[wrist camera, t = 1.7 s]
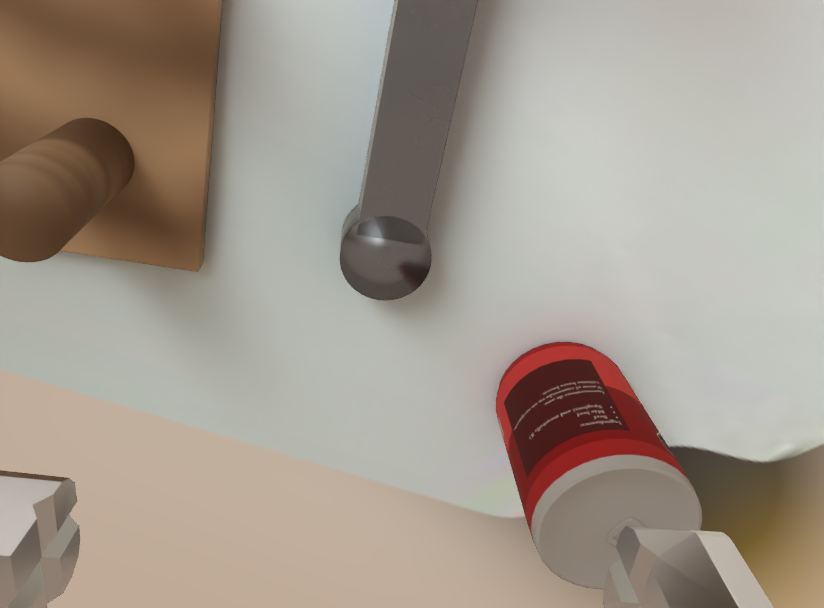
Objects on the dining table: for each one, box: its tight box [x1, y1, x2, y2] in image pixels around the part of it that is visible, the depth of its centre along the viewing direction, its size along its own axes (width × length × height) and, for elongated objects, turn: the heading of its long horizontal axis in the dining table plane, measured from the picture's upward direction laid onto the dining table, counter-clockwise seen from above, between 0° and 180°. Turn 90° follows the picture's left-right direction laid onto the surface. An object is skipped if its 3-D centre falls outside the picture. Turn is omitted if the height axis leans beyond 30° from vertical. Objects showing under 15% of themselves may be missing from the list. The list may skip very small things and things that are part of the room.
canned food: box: [496, 342, 702, 589], centre depth 36 cm, size 8×8×11 cm
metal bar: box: [340, 0, 478, 300], centre depth 31 cm, size 20×4×3 cm, turn 169°
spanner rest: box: [0, 0, 223, 272], centre depth 26 cm, size 22×10×9 cm, turn 169°
